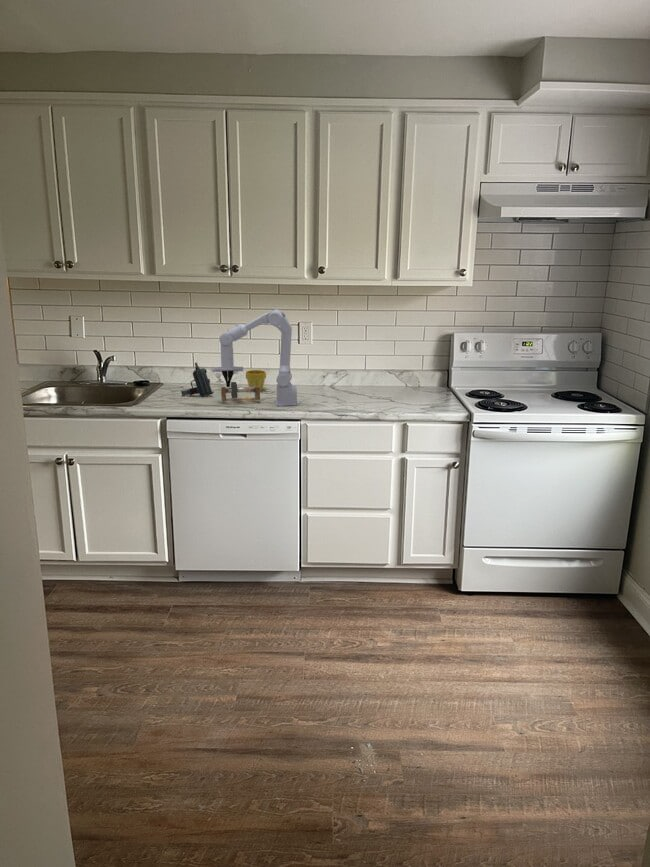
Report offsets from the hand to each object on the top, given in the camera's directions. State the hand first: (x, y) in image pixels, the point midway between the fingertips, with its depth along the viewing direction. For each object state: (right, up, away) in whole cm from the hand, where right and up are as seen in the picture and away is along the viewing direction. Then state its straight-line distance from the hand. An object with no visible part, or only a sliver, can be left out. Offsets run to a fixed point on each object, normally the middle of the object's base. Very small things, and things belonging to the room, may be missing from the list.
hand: (228, 386), depth 302 cm
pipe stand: (+6, -7, +4) cm, 10 cm away
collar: (+3, -5, +2) cm, 6 cm away
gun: (-17, -4, +13) cm, 22 cm away
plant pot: (+10, 0, +27) cm, 29 cm away
